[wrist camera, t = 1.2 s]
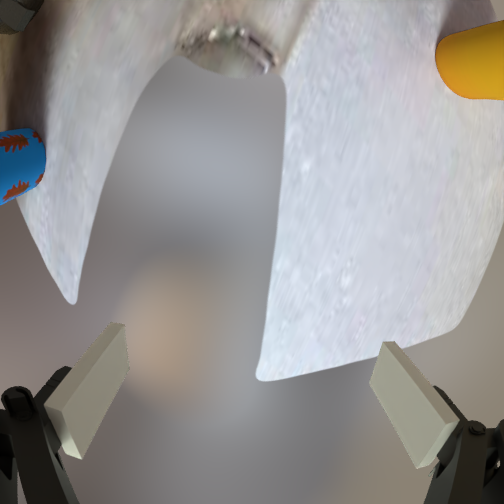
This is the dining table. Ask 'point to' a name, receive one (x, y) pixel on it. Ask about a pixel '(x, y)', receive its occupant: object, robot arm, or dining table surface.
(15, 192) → the thermos
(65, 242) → the dining table surface
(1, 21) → the pot
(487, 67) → the beer bottle
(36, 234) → the dining table surface
